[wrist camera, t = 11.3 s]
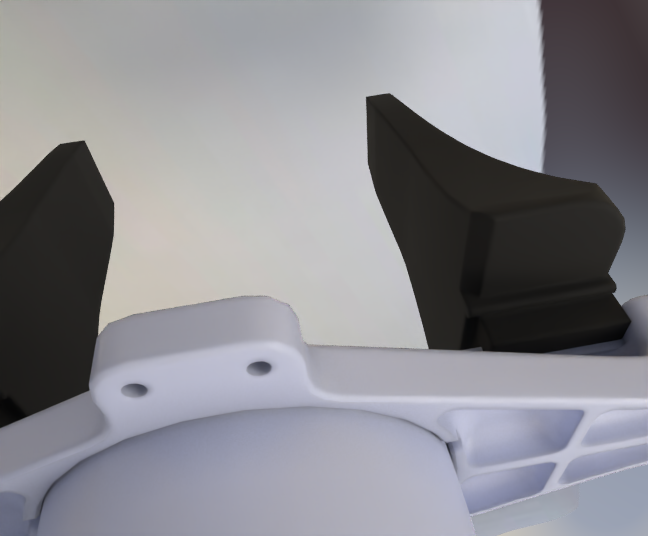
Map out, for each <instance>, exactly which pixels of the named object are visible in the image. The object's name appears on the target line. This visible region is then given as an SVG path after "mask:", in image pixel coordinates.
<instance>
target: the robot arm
mask: <svg viewBox="0 0 648 536" xmlns="http://www.w3.org/2000/svg"><path fill="white" fill-rule="evenodd" d="M366 110H367V146H368V165H369V169H370V173H371V177H372V180H373V184H374V188H375V191H376V194H377V197H378V199H379V202H380V204H381V206H382V209H383V211H384V213H385V216H386V218H387V221H388V223H389V225H390V228H391V230H392V232H393V235H394V237H395V239H396V242H397V244H398V246H399V249H400V251H401V253H402V256H403V259H404V261H405V264H406V267H407V271H408V274H409V278H410V281H411V284H412V288H413V291H414V295H415V298H416V302H417V306H418V309H419V313H420V317H421V320H422V324H423V328H424V332H425V336H426V340H427V344H428V347H429V349H411V348H385V347H359V346H333V345H309V344H306V343H305V342H304V339H303V337H302V334H301V329H300V324H299V319H298V317H297V316H296V314H295V313H294V311H293V310H292V308H291V307H290V305H288V304H286V303H283V302H281V301H279V300H276V299H274V298H271V297H269V296H239V297H233V298H227V299H221V300H216V301H210V302H204V303H198V304H192V305H186V306H180V307H174V308H168V309H162V310H157V311H151V312H145V313H139V314H133V315H130V316H128V317H125V318H122V319H120V320H117V321H114V322H112V323H109V324H108V325H107V326H106V327H105V328H104V330H103V331H102V332H101V333H100V334H99V336H98V326H99V314H100V307H101V300H102V295H103V290H104V285H105V280H106V274H107V269H108V264H109V259H110V253H111V248H112V242H113V236H114V202H113V200H112V198H111V196H110V194H109V191H108V189H107V187H106V185H105V183H104V181H103V179H102V177H101V175H100V172H99V170H98V168H97V166H96V164H95V162H94V160H93V158H92V155H91V153H90V151H89V149H88V147H87V145H86V143H85V141H77V142H71V143H64V144H60V145H58V146H57V147H56V148H55V149H53V150H52V151H51V152H50V153H49V154H48V155H47V156H46V157H45V158H44V159H43V160H42V161H41V162H40V163H39V164H38V165H37V166H36V167H35V168H34V169H33V170H32V171H31V172H30V173H29V174H28V175H27V176H26V177H25V178H24V179H23V180H22V181H21V182H20V183H19V184H18V185H17V186H16V187H15V188H14V189H13V190H12V191H11V192H10V193H9V194H8V195H6V196H5V197H4V198H3V199H2V200H1V201H0V536H477V535H476V532H475V529H474V526H473V523H472V520H471V517H472V516H475V515H479V514H482V513H485V512H488V511H492V510H495V509H498V508H501V507H504V506H508V505H511V504H514V503H517V502H521V501H524V500H527V499H530V498H534V497H537V496H540V495H543V494H546V493H550V492H553V491H556V490H559V489H563V488H566V487H569V486H572V485H576V484H579V483H581V482H585V481H588V480H592V479H595V478H599V477H602V476H606V475H609V474H612V473H616V472H619V471H623V470H626V469H630V468H634V467H638V466H642V465H646V464H648V295H644V296H639V297H635V298H632V299H630V300H629V301H627V302H625V303H624V304H623V305H622V306H621V305H620V304H619V302H618V301H617V300H616V298H615V297H614V295H613V294H612V293H614V292H615V291H616V284H615V282H614V281H613V280H612V278H611V277H610V275H609V274H608V272H609V270H610V268H611V265H612V263H613V261H614V259H615V256H616V254H617V252H618V250H619V247H620V245H621V243H622V240H623V237H624V233H625V220H624V217H623V216H622V214H621V213H620V211H619V210H618V208H617V207H616V206H615V205H614V203H613V202H612V201H611V200H610V198H609V197H608V196H607V195H606V194H605V193H604V192H603V190H602V189H601V188H600V187H599V186H598V185H597V184H595V183H590V182H583V181H577V180H571V179H565V178H559V177H555V176H550V175H546V174H542V173H538V172H534V171H531V170H527V169H524V168H520V167H517V166H514V165H511V164H509V163H506V162H503V161H500V160H497V159H495V158H492V157H490V156H488V155H485V154H483V153H481V152H479V151H477V150H475V149H473V148H470V147H468V146H466V145H464V144H463V143H461V142H459V141H457V140H456V139H454V138H452V137H450V136H449V135H447V134H445V133H444V132H442V131H441V130H439V129H438V128H436V127H435V126H433V125H432V124H430V123H429V122H427V121H426V120H424V119H423V118H422V117H420V116H419V115H418V114H416V113H415V112H414V111H412V110H411V109H410V108H408V107H407V106H406V105H404V104H403V103H402V102H401V101H399V100H398V99H397V98H395V97H394V96H393V95H391V94H390V93H388V94H382V95H375V96H369V97H366Z"/></svg>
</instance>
